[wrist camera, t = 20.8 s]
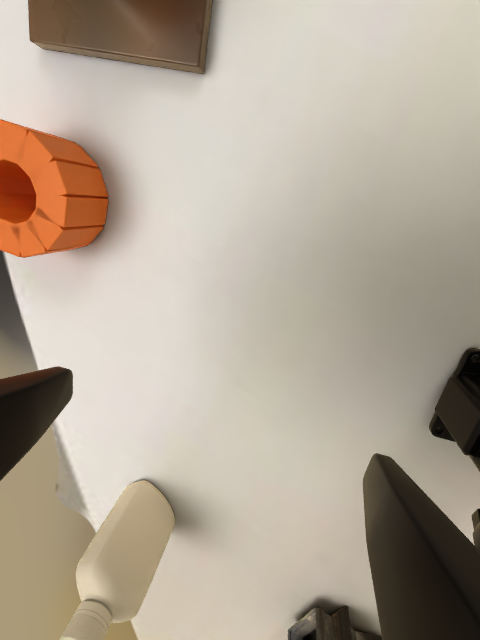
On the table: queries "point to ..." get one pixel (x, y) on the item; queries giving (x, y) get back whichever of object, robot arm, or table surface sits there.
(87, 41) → the stand
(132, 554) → the eye dropper bottle
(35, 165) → the ring
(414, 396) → the table surface
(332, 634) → the dark grey hollow box
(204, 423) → the table surface
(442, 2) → the table surface
